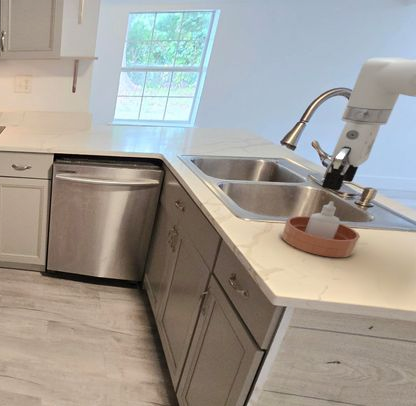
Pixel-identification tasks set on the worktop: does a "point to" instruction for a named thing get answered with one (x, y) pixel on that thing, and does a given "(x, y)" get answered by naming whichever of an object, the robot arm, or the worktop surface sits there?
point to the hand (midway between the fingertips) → (336, 184)
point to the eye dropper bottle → (324, 222)
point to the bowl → (320, 239)
